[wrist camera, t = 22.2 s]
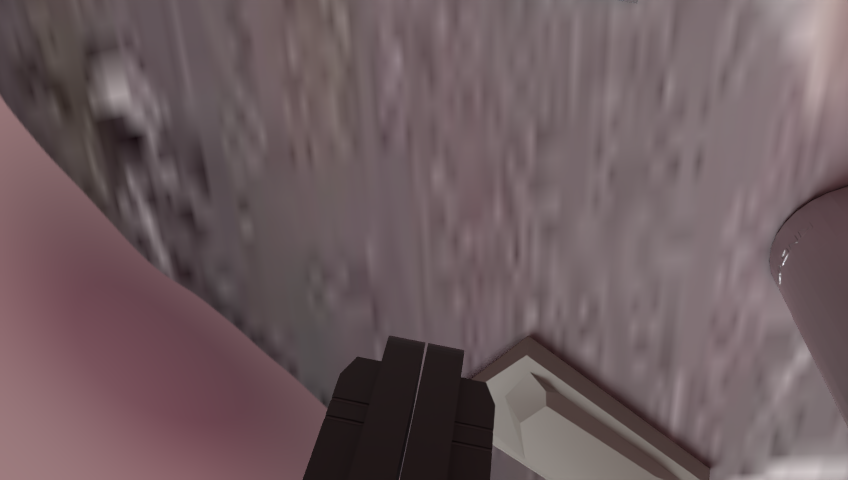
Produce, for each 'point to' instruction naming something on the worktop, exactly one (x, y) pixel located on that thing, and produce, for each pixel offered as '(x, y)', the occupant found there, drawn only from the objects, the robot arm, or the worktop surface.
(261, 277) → the worktop surface
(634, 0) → the mat
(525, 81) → the worktop surface
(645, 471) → the soap mold
